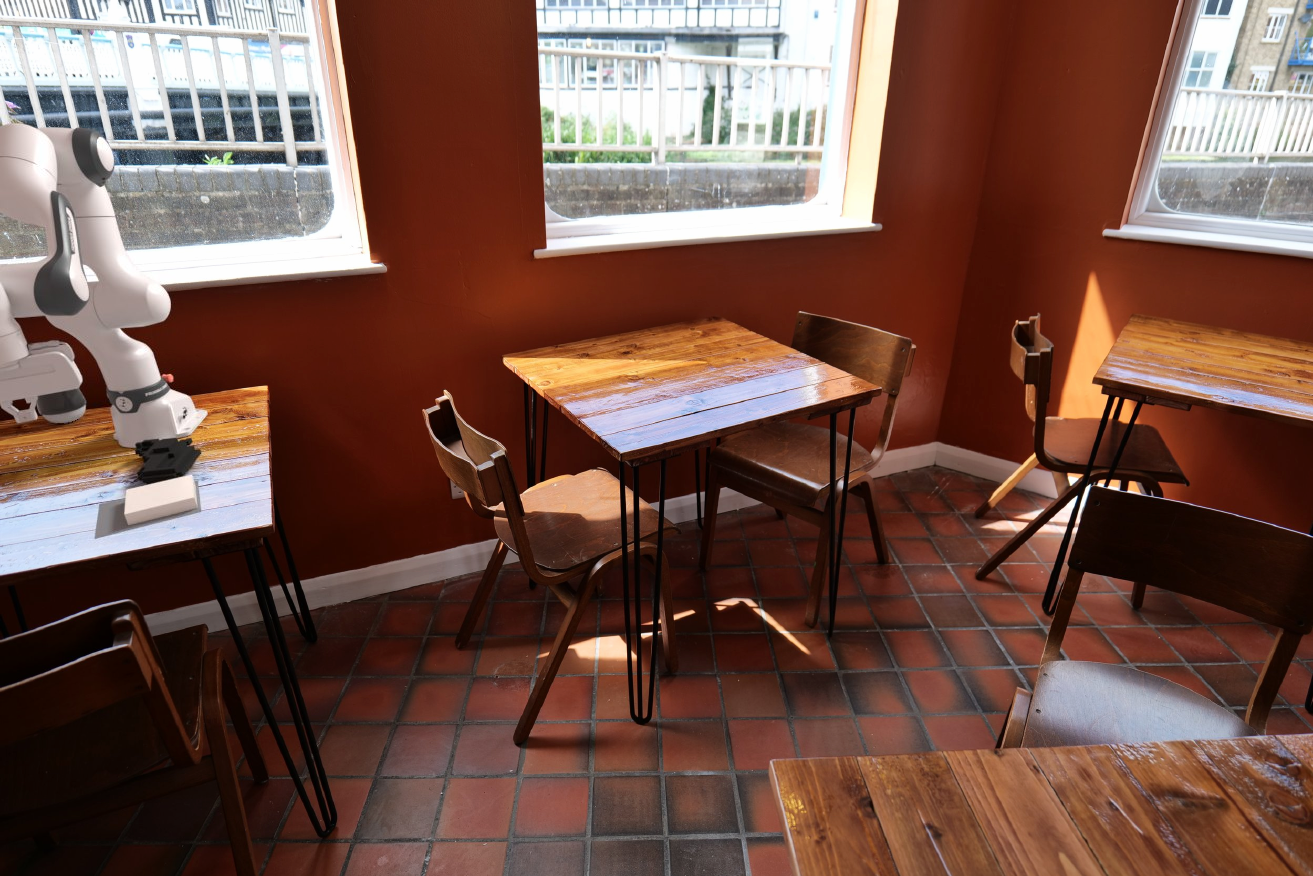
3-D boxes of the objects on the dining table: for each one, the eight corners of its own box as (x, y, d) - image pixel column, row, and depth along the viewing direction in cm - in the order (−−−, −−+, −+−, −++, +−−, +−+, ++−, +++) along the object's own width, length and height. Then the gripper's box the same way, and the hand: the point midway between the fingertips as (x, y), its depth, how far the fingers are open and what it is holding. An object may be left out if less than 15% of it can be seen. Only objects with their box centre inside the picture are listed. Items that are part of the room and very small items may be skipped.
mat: (95, 540, 144) (94, 538, 144) (100, 505, 156) (99, 503, 156) (201, 513, 152) (201, 511, 152) (198, 482, 165) (197, 480, 164)
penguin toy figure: (73, 427, 195) (51, 372, 188) (34, 428, 195) (11, 372, 189) (100, 412, 204) (81, 358, 198) (63, 412, 204) (42, 359, 198)
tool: (99, 473, 158) (176, 465, 161) (139, 434, 176) (208, 427, 179) (107, 496, 160) (183, 487, 163) (146, 455, 178) (214, 447, 181)
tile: (124, 514, 147) (194, 497, 152) (126, 489, 156) (192, 474, 162) (128, 525, 148) (197, 508, 153) (130, 500, 157) (195, 484, 163)
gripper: (69, 333, 140) (96, 401, 146) (-73, 355, 130) (-38, 427, 137) (65, 342, 135) (93, 413, 141) (-83, 366, 126) (-46, 440, 132)
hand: (27, 420), depth 139 cm, fingers closed
